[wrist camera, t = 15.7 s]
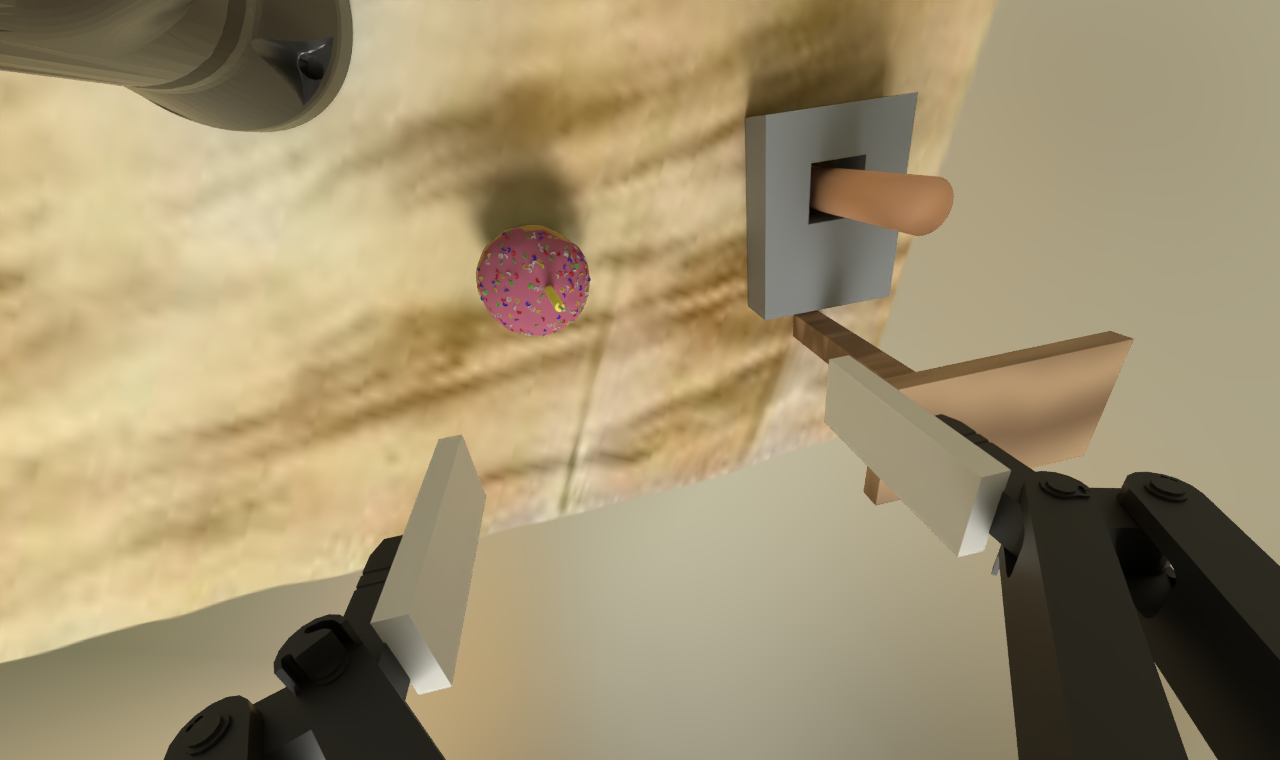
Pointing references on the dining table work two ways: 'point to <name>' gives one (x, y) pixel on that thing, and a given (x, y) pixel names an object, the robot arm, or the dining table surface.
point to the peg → (882, 198)
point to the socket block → (819, 242)
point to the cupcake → (533, 280)
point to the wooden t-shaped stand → (995, 390)
